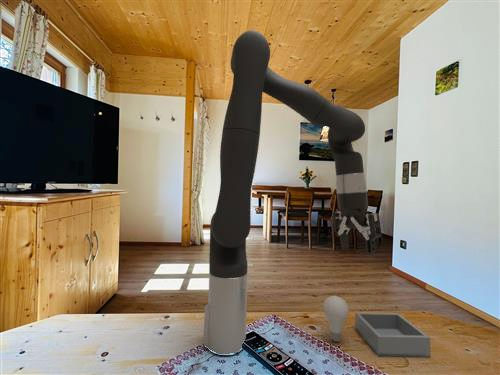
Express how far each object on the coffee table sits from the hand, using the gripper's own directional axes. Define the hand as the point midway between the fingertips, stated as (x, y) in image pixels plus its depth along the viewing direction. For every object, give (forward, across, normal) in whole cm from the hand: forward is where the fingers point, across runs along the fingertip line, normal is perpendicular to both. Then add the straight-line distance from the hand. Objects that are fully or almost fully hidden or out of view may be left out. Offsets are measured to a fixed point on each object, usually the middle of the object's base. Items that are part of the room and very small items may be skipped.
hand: (357, 251), depth 67 cm
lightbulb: (+21, 0, -10) cm, 23 cm away
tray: (+22, +5, +2) cm, 23 cm away
